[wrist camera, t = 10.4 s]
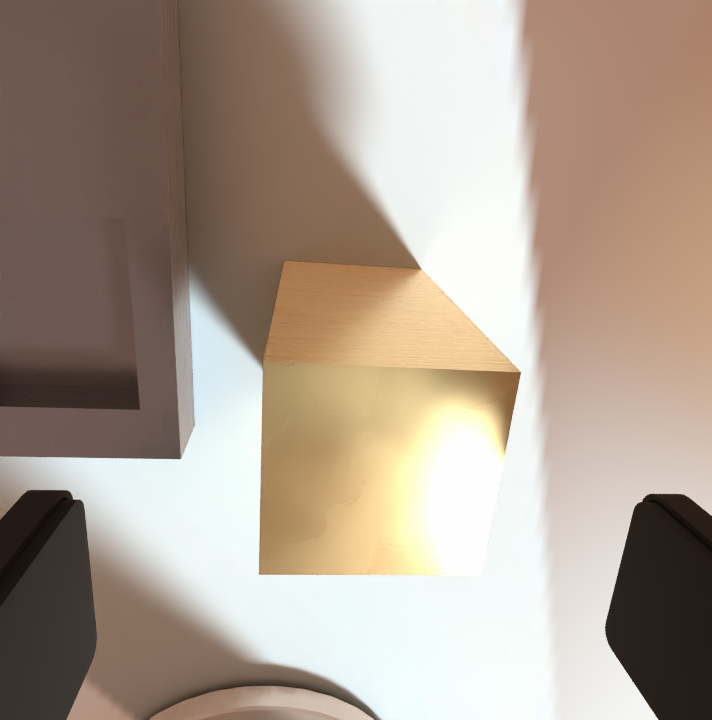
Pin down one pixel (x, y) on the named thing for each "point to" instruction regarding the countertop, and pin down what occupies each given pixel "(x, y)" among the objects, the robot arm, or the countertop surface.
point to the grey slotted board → (93, 231)
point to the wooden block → (378, 426)
